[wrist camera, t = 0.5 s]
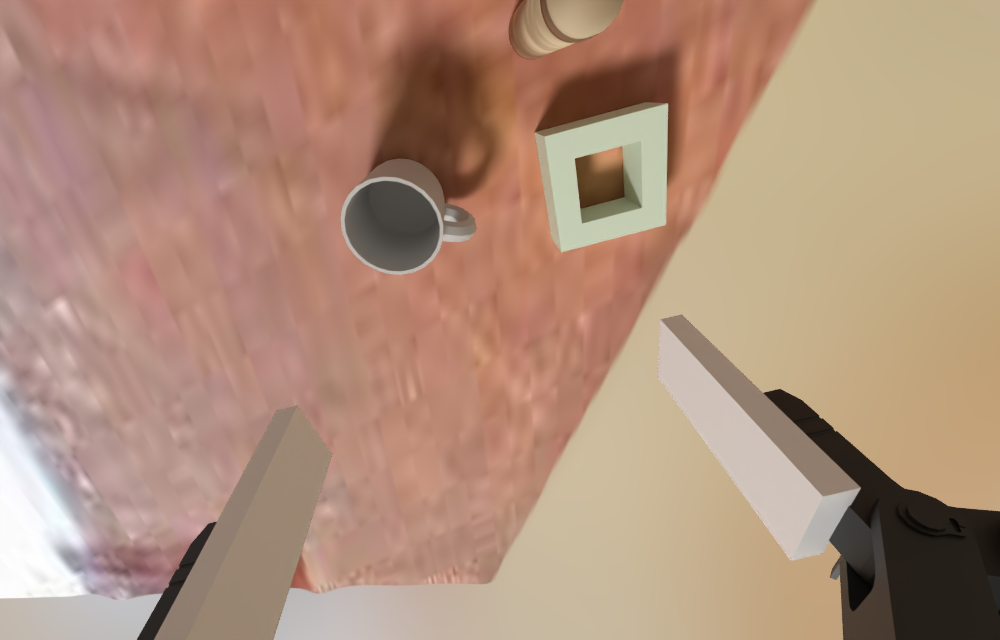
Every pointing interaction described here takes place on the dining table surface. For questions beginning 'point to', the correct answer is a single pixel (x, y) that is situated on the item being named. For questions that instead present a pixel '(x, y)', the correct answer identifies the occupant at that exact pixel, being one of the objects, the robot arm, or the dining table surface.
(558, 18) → the striped wooden dowel
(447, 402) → the dining table surface
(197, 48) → the dining table surface
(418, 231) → the cup
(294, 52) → the dining table surface
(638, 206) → the square block with hole
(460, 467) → the dining table surface
